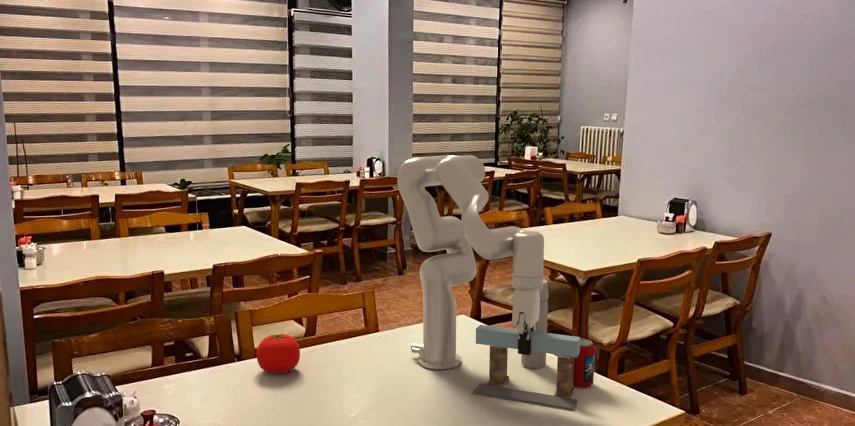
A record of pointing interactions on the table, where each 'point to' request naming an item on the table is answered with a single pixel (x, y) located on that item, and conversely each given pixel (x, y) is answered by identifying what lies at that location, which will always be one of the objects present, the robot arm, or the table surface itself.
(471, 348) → the table surface
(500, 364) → the post
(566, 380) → the post
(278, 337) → the tomato
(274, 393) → the table surface
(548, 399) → the mat
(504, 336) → the rail
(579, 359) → the beverage can
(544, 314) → the water bottle
